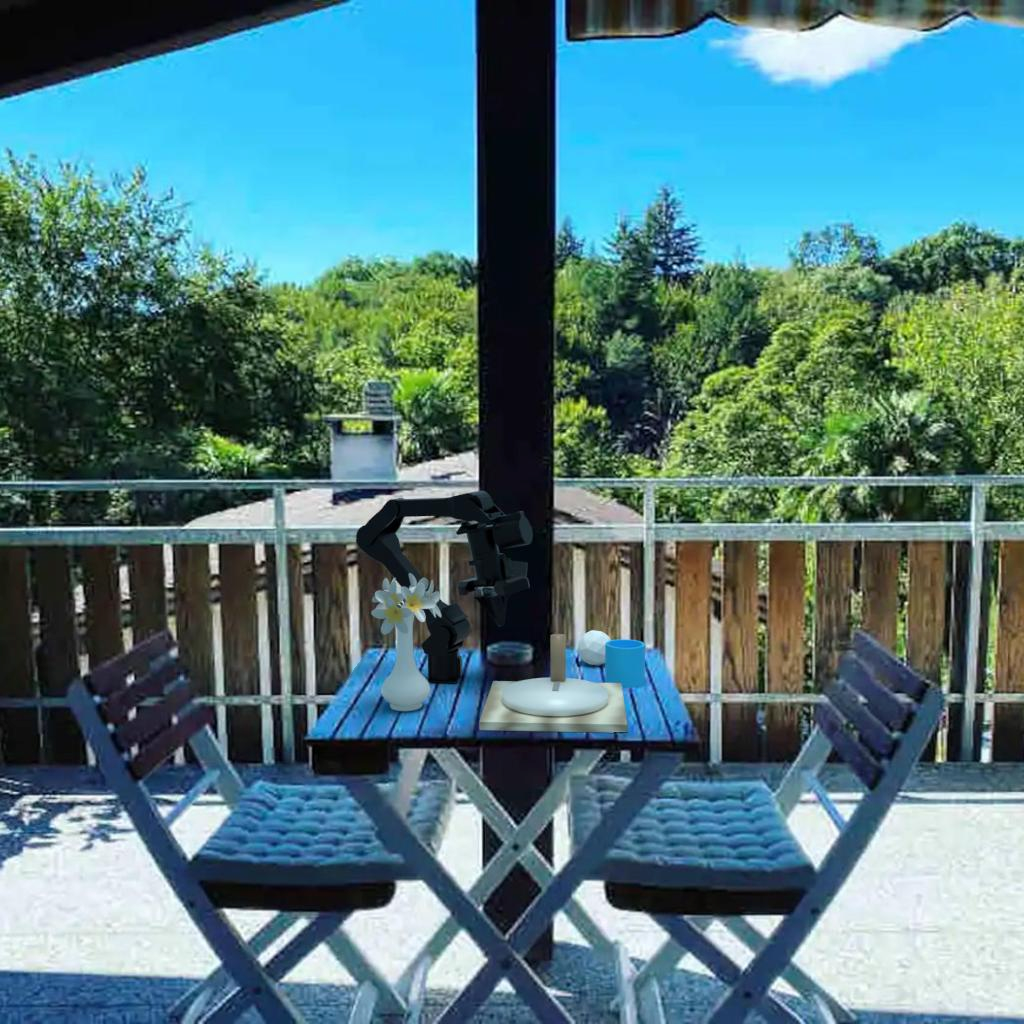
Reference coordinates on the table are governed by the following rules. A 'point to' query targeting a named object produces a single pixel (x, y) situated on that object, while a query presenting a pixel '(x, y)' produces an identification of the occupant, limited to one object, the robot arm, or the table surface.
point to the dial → (555, 690)
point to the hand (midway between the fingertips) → (501, 626)
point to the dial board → (511, 720)
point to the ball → (593, 647)
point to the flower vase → (405, 639)
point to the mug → (625, 662)
